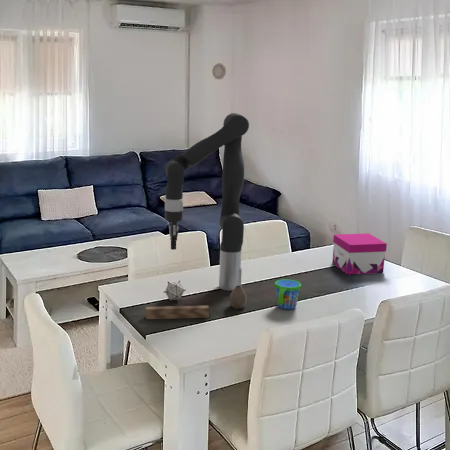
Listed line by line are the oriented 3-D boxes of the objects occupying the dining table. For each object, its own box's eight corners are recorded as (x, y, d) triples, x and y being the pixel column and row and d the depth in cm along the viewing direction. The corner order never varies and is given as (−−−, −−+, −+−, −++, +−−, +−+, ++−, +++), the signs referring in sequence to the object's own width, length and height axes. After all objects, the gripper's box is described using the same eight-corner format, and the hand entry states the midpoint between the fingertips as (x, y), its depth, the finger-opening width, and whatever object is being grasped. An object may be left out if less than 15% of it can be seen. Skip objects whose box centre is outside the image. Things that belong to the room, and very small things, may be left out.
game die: (177, 310, 253) (181, 297, 246) (158, 301, 254) (162, 287, 246) (186, 294, 259) (190, 280, 252) (168, 285, 260) (171, 272, 252)
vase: (228, 303, 252) (229, 283, 250) (245, 303, 252) (246, 283, 250) (230, 310, 245) (230, 289, 243) (247, 310, 246) (248, 289, 243)
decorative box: (331, 263, 310) (333, 234, 306) (366, 261, 314) (368, 233, 311) (347, 275, 292) (349, 245, 288) (383, 273, 297) (386, 243, 293)
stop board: (207, 315, 239) (208, 305, 238) (208, 317, 237) (208, 307, 236) (145, 316, 236) (145, 306, 235) (145, 319, 234) (145, 309, 233)
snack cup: (284, 298, 260) (285, 275, 257) (306, 304, 254) (308, 280, 252) (265, 309, 247) (267, 285, 244) (289, 315, 241) (290, 291, 239)
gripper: (184, 212, 250) (183, 253, 254) (181, 205, 262) (181, 244, 267) (165, 212, 249) (165, 253, 253) (164, 205, 261) (163, 244, 266)
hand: (173, 249), depth 260 cm, fingers closed
